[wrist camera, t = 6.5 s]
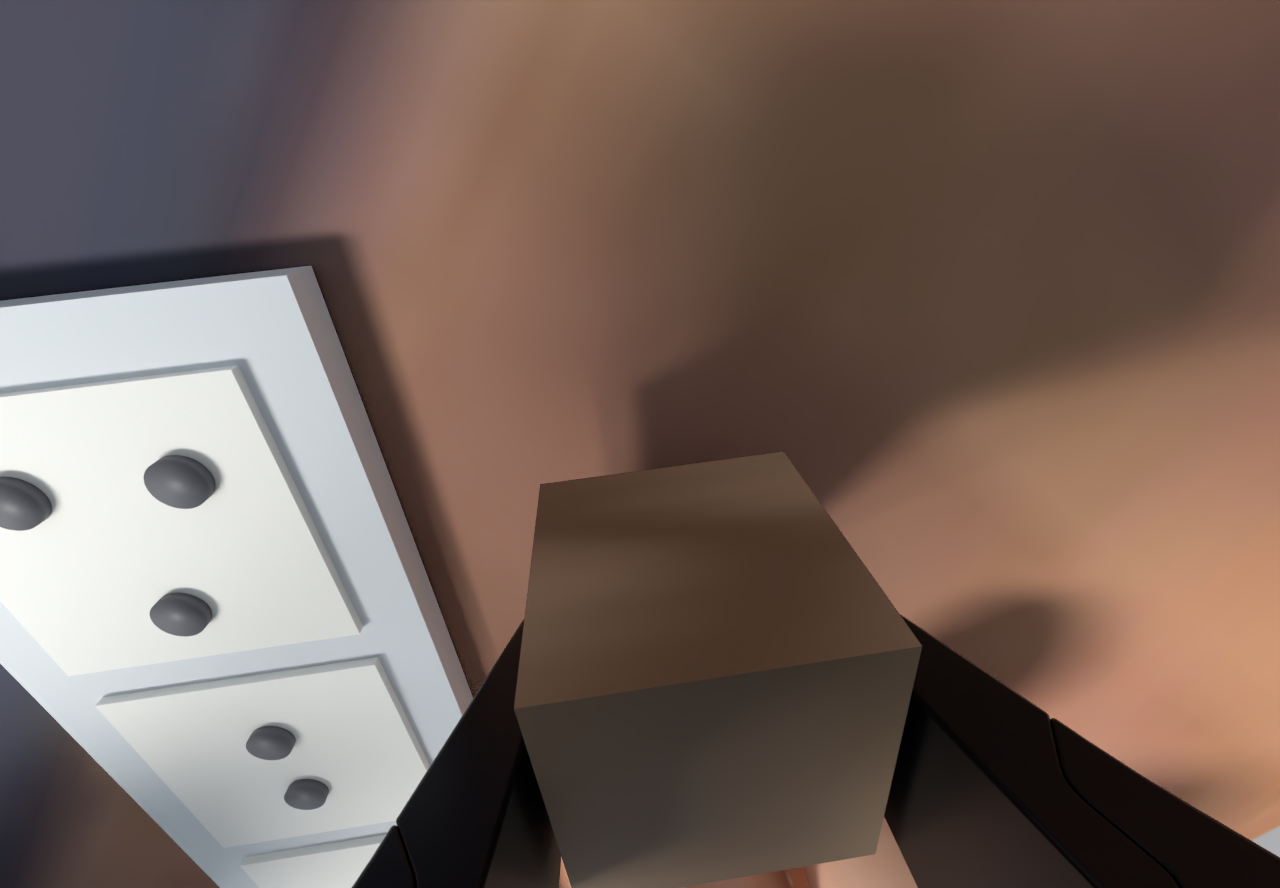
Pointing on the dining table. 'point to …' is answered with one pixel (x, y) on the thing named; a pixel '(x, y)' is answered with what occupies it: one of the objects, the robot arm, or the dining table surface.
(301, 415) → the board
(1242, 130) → the dining table surface
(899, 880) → the peach rounded blob
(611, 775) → the brown cube
